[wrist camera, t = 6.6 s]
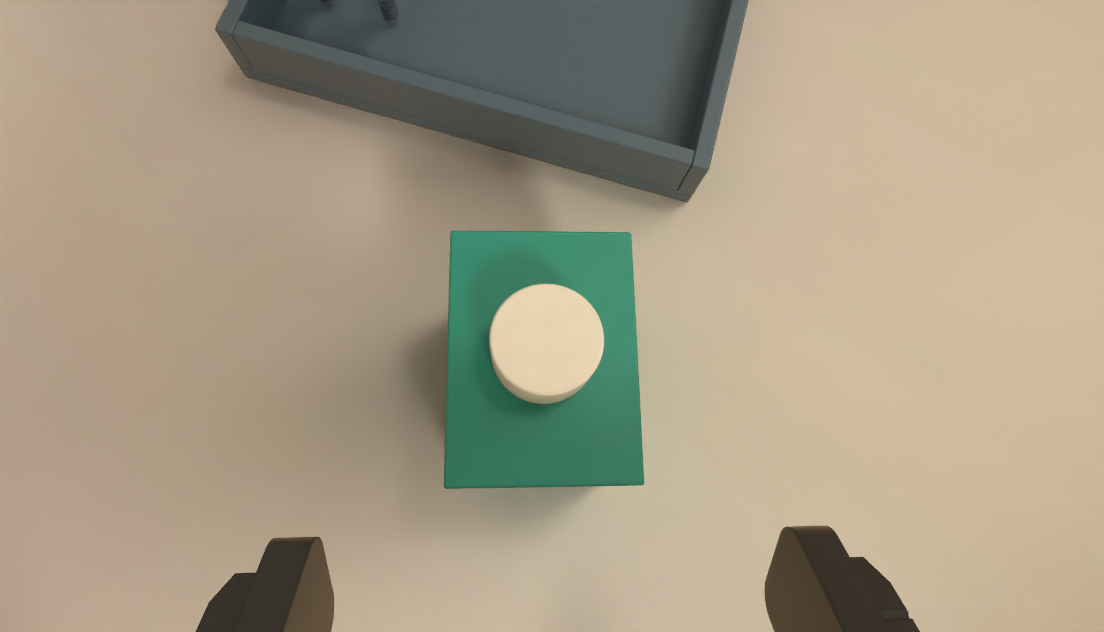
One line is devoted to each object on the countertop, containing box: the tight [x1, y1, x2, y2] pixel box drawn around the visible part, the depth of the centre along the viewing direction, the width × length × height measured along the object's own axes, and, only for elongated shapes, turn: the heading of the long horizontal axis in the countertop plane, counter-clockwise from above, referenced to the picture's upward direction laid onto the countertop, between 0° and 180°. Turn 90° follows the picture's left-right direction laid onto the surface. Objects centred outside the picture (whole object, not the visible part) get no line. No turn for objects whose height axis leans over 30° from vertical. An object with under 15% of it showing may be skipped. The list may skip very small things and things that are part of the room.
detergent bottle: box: [444, 231, 644, 489], centre depth 17 cm, size 4×6×8 cm
